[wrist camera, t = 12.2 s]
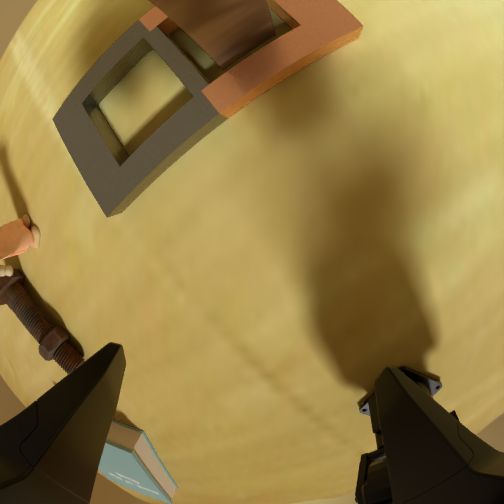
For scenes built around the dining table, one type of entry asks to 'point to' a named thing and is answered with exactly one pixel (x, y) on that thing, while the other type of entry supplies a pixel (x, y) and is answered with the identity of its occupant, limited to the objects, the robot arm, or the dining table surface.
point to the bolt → (38, 323)
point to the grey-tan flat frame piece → (204, 93)
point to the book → (135, 463)
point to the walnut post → (222, 25)
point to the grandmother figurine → (16, 240)
